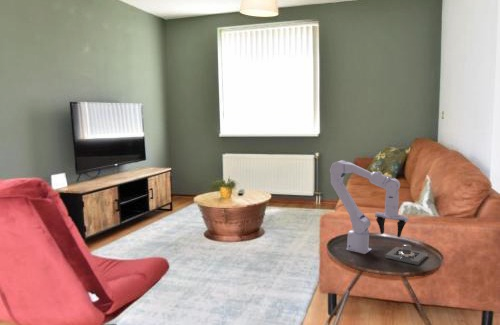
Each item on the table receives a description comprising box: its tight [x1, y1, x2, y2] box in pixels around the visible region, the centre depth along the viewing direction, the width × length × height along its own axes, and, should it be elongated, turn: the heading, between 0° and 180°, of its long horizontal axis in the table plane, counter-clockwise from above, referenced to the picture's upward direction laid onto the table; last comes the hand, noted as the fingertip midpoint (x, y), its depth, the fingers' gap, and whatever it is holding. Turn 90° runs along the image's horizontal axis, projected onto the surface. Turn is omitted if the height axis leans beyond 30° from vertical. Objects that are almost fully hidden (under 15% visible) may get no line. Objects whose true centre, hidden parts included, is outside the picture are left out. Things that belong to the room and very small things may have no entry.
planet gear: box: [397, 243, 416, 259], centre depth 184 cm, size 7×7×6 cm
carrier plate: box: [384, 246, 428, 266], centre depth 184 cm, size 14×14×2 cm
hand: (390, 234), depth 186 cm, fingers open, 7 cm apart
